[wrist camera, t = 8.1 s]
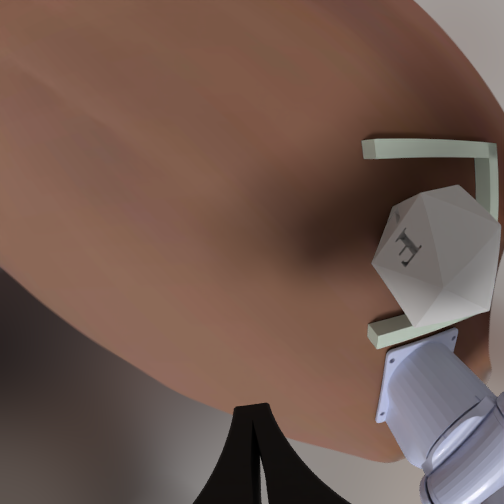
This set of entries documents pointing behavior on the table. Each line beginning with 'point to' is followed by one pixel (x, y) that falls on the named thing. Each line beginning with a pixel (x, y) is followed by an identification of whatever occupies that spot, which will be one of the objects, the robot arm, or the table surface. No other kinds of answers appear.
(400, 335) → the bay
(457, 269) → the die
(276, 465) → the robot arm
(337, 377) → the table surface
